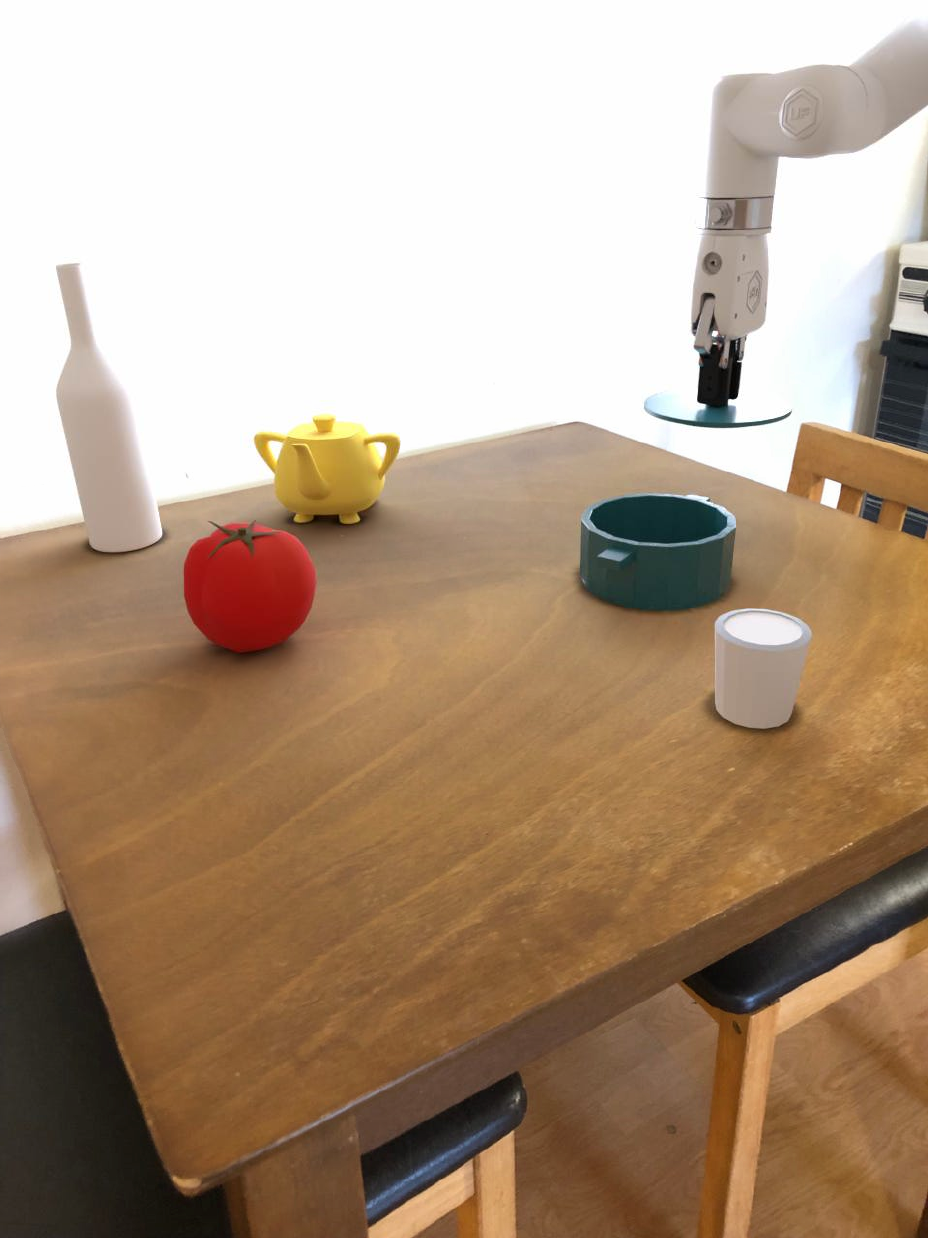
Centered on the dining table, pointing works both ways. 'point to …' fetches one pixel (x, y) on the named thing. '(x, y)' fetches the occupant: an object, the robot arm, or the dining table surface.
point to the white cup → (758, 666)
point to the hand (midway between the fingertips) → (717, 399)
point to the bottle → (103, 432)
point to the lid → (718, 408)
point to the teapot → (328, 467)
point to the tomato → (248, 586)
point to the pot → (657, 551)
